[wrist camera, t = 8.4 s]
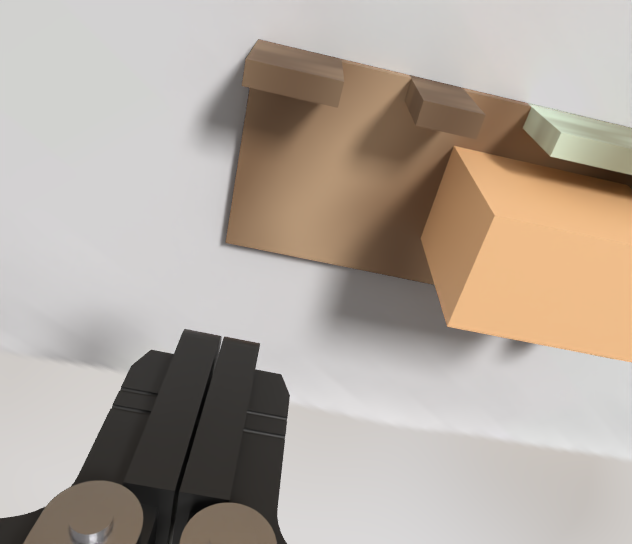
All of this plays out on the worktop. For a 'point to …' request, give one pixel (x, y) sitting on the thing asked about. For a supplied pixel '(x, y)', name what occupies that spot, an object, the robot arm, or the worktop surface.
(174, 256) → the worktop surface
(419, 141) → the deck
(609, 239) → the block
